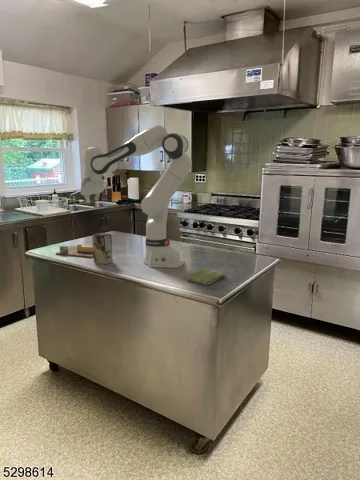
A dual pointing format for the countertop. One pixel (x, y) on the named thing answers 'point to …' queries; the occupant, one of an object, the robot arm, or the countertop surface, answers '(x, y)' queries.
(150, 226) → the robot arm
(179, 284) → the countertop surface
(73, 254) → the board
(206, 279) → the washcloth
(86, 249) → the bar
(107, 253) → the coffee box
